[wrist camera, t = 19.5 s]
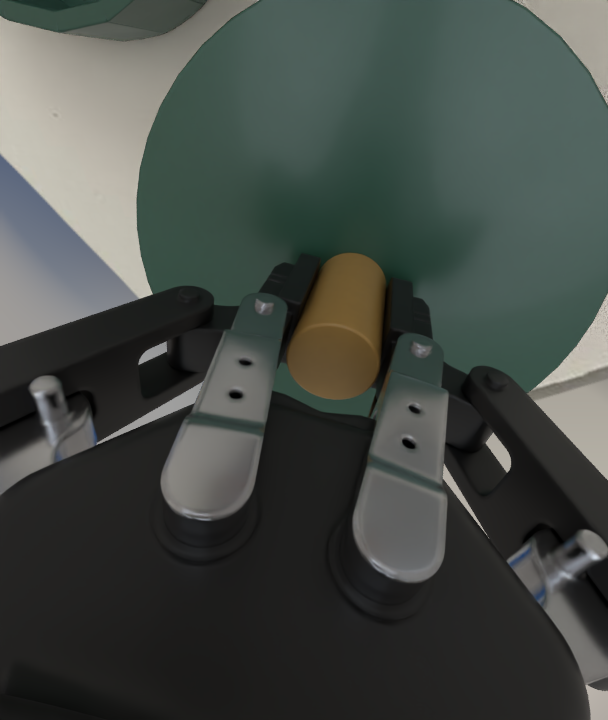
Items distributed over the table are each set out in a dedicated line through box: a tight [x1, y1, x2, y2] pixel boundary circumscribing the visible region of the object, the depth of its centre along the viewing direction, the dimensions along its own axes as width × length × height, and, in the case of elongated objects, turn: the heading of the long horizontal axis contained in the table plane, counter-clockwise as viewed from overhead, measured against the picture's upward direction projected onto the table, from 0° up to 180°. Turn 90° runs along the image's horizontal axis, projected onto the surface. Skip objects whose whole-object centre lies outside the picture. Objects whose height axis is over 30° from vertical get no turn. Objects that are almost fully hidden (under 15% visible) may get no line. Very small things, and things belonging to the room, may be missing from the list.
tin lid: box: [137, 0, 608, 417], centre depth 13 cm, size 17×17×6 cm
